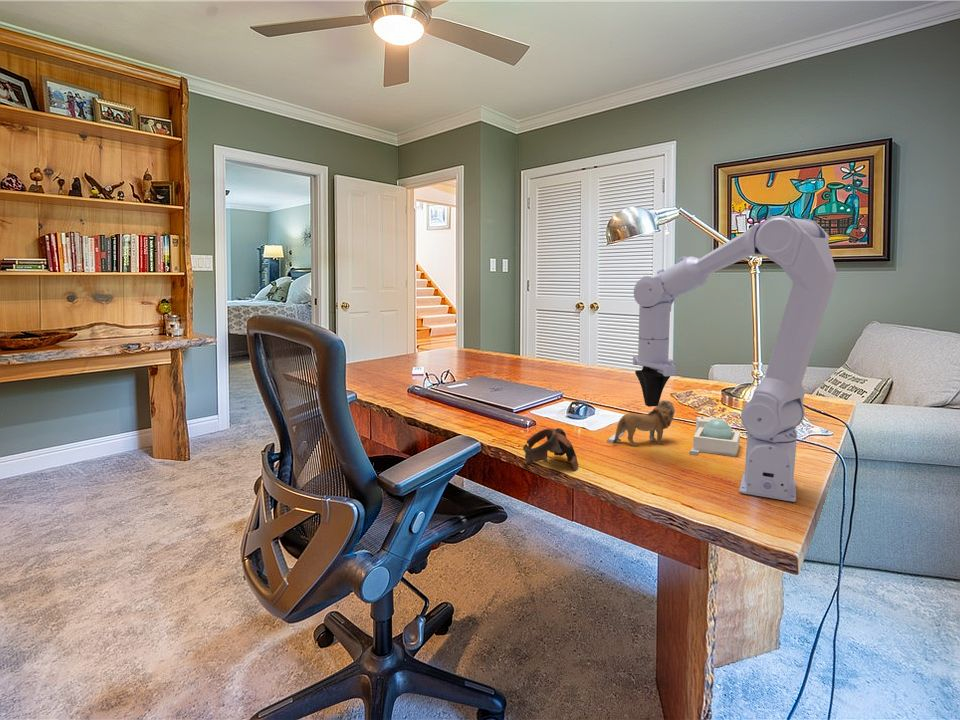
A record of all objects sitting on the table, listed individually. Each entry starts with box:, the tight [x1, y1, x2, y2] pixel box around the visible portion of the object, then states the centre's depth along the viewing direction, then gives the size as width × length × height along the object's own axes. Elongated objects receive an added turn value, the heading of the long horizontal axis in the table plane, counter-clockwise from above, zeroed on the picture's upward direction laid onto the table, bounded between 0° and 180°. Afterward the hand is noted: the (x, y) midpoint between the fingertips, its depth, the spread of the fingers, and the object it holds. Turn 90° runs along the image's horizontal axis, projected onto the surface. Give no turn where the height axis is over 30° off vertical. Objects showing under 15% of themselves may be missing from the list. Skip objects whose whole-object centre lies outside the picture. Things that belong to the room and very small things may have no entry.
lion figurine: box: [611, 399, 675, 447], centre depth 112 cm, size 15×5×9 cm, turn 106°
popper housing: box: [692, 427, 741, 457], centre depth 108 cm, size 8×8×3 cm
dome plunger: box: [703, 418, 732, 440], centre depth 108 cm, size 5×5×5 cm
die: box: [695, 416, 717, 433], centre depth 116 cm, size 4×4×4 cm
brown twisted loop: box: [522, 427, 579, 472], centre depth 100 cm, size 12×10×8 cm
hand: (651, 405), depth 104 cm, fingers closed
